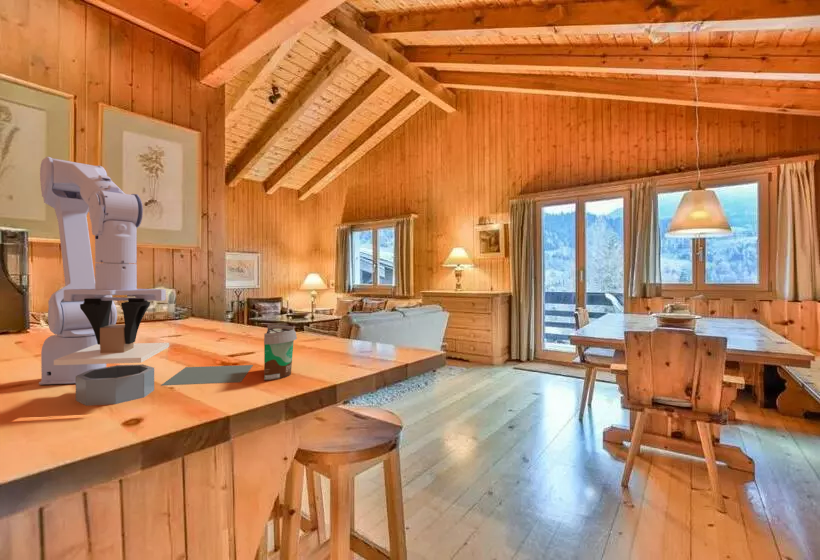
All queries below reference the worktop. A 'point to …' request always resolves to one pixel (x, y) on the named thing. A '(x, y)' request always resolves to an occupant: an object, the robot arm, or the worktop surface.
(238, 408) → the worktop surface
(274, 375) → the food container
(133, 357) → the lid
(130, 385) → the bowl
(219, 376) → the mat
